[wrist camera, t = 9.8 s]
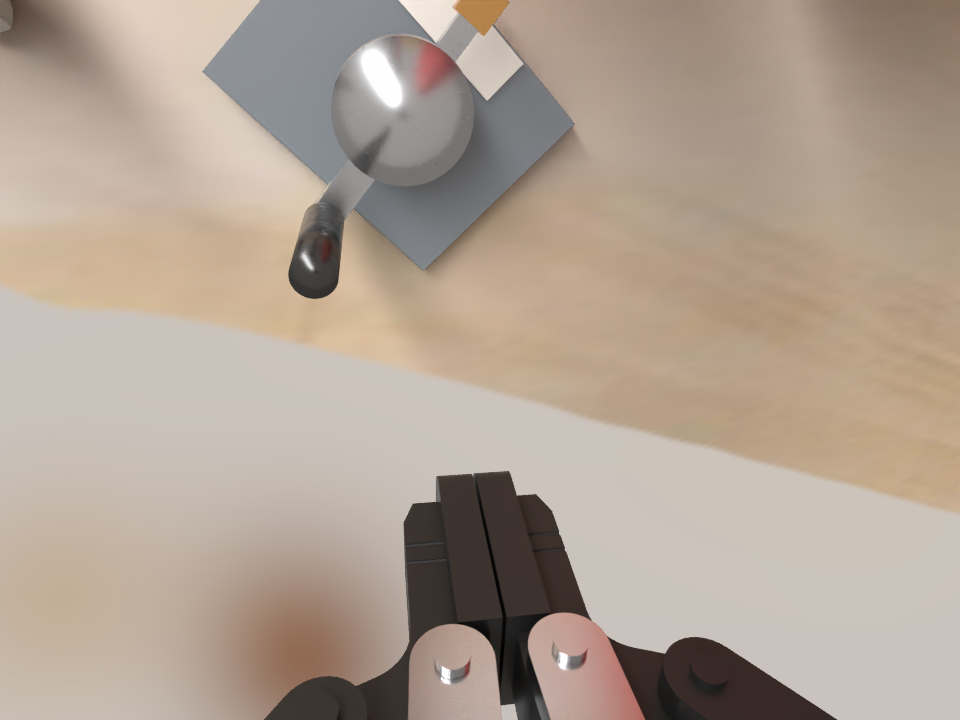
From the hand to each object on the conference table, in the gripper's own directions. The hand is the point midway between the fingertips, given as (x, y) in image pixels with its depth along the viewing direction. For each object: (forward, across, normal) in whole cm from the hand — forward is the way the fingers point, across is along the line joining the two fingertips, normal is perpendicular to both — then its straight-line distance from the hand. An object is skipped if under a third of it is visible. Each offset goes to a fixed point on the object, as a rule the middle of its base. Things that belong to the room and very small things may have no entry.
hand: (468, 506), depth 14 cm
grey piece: (+21, +1, -4) cm, 21 cm away
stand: (+25, 0, -5) cm, 25 cm away
